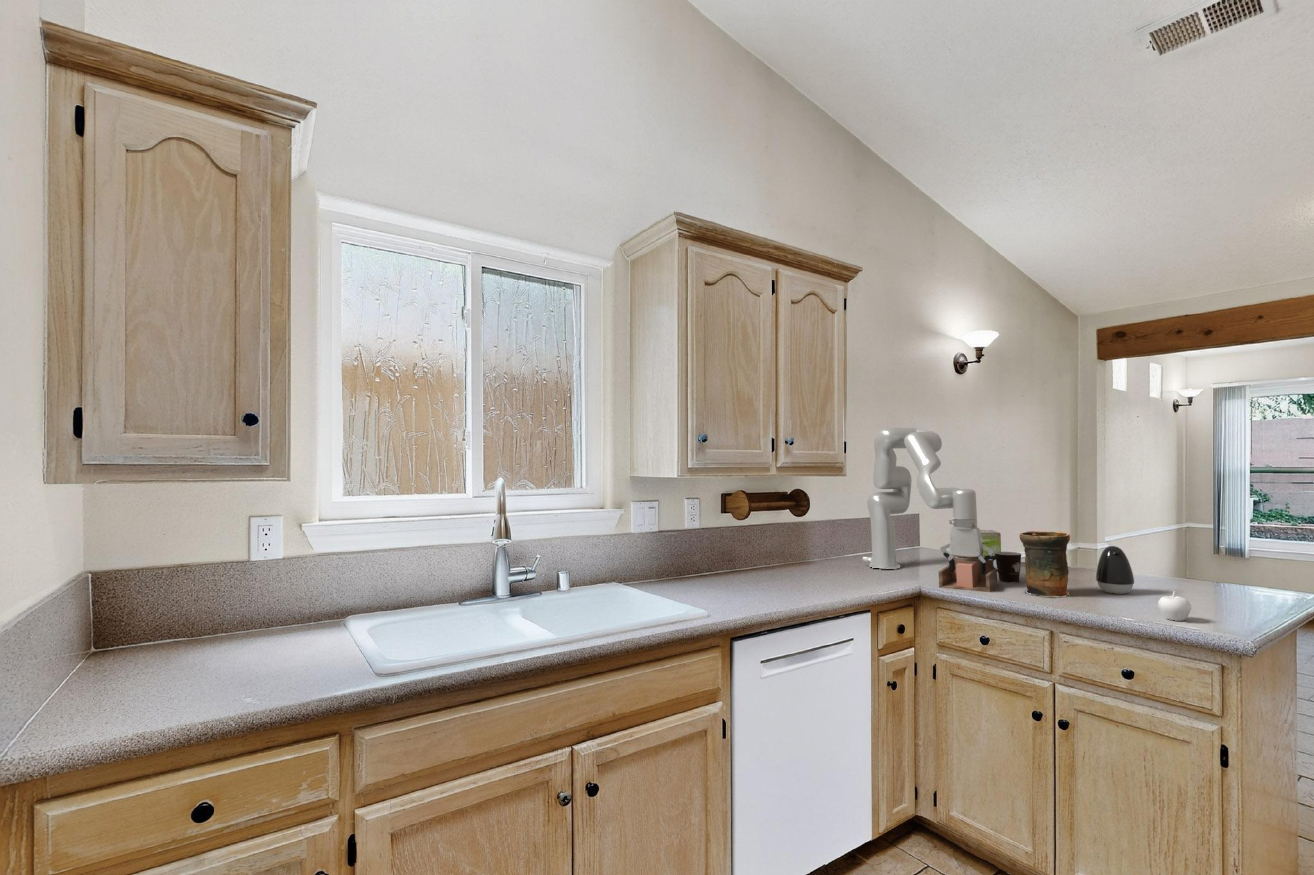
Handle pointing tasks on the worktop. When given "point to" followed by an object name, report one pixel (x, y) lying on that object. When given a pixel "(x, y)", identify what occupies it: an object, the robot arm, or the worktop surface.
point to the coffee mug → (1008, 566)
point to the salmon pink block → (967, 573)
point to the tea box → (989, 544)
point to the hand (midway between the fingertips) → (967, 572)
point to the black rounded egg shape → (1114, 571)
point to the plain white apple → (1174, 607)
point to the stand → (985, 580)
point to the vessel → (1046, 562)
